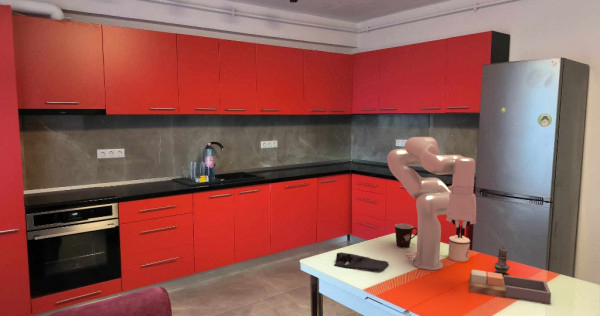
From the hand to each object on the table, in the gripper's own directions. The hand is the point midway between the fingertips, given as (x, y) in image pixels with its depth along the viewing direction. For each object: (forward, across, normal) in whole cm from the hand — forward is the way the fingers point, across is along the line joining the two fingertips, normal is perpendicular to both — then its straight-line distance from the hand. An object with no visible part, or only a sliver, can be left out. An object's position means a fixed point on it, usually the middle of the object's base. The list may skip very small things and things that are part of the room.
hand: (460, 237), depth 157 cm
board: (+19, +10, 0) cm, 21 cm away
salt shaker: (+19, +16, +17) cm, 30 cm away
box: (+19, +23, 0) cm, 30 cm away
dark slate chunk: (+19, -39, +4) cm, 44 cm away
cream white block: (+16, +7, 0) cm, 18 cm away
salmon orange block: (+16, +13, 0) cm, 21 cm away
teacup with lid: (+19, -1, +30) cm, 36 cm away
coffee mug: (+19, -25, +36) cm, 48 cm away
